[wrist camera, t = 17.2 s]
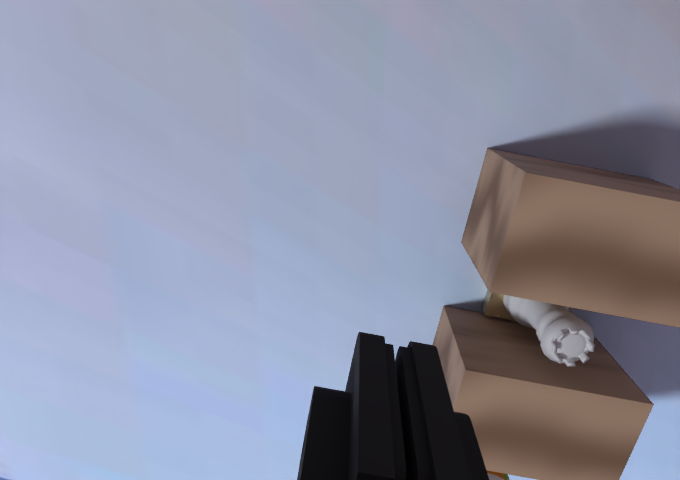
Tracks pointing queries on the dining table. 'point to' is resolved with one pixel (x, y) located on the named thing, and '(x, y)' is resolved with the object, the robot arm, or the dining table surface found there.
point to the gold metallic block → (496, 306)
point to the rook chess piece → (554, 329)
